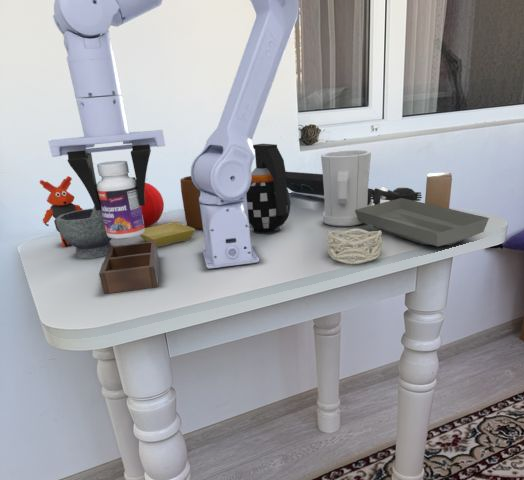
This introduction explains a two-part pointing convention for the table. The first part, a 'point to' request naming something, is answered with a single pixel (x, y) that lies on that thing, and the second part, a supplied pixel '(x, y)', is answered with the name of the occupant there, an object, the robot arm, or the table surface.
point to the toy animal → (59, 203)
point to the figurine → (392, 194)
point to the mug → (191, 203)
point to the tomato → (151, 205)
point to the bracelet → (344, 242)
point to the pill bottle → (119, 201)
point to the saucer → (167, 233)
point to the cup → (345, 186)
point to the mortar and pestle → (85, 232)
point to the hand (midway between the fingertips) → (121, 206)
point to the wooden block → (438, 189)
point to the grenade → (268, 191)
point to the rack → (130, 267)
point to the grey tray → (422, 221)
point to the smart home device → (305, 183)
